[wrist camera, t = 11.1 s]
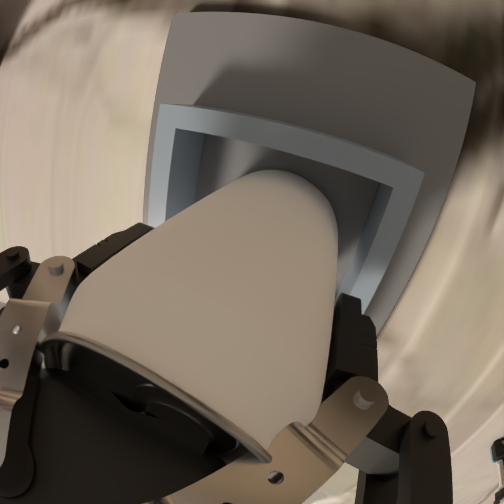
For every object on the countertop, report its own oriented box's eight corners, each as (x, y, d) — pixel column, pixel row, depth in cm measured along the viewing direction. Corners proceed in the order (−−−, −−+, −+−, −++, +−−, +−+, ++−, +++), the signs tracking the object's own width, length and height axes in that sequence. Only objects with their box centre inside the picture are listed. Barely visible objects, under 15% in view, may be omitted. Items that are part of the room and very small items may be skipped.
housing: (184, 18, 12) (141, -2, 8) (467, 84, 9) (504, 75, 6) (151, 314, 23) (122, 345, 19) (336, 383, 20) (330, 427, 16)
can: (364, 236, 14) (376, 491, 3) (276, 303, 17) (190, 498, 6) (273, 140, 13) (39, 222, 3) (196, 225, 16) (26, 370, 6)
